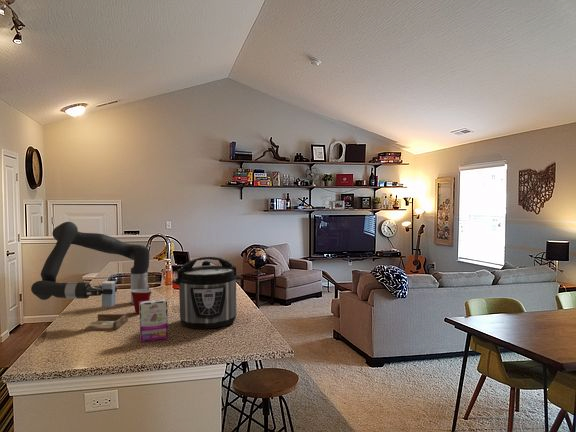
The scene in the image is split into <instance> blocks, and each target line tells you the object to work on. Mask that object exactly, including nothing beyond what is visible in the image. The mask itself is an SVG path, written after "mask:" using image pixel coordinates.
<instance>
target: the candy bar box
mask: <svg viewBox="0 0 576 432" xmlns="http://www.w3.org/2000/svg"><path fill="white" fill-rule="evenodd" d="M138 315H139V340H140V343H148V342H155V341H156V342H157V341H164V340H168V339H169V326H168V325H169V323H168V300H167V299H166V298H163V299H162V298H161V299H160V298H159V299H153V300H151V299H150V300H149V301H140V302H139V314H138Z"/></svg>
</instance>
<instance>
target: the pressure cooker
mask: <svg viewBox="0 0 576 432" xmlns="http://www.w3.org/2000/svg"><path fill="white" fill-rule="evenodd" d="M209 260H213V261H218V262H219V263H220V264H221V265H214V264H213V265H211V261H209ZM199 261H203V262H201V263H202V264H201V265H199V266H194V265H195V264H196V262H199ZM237 280H239V281H240V280H243V275H240V274H237V266H235V265H233V263H232V262H230V261H228V260H227V259H225V258H223V257H217V256H216V257H215V256H204V257H203V256H202V257H197V258H194V259H192V260H190V261H188V262H185V263H184V264H183V265H182V267H181V268H178V269H177V278H173V279H172V280H171V281H172V282H171V283H172V284H174V285H177V286H178V290H179V291H178V293H179V294H178V296H179V320H180V322H181V324H183V325H184V326H185V327H187V328H191V329H192V328H193V329H202V330H203V329H205V330H206V329H215V328H221V327H225V326H228V325H231V324H233V323H234V322H235V320H236V317H237V309H238V308H237Z"/></svg>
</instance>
